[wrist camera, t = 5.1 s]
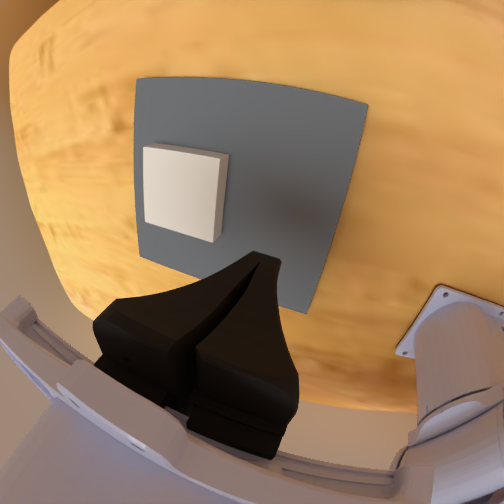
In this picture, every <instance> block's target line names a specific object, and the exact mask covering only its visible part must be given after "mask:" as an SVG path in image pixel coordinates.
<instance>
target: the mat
mask: <svg viewBox="0 0 504 504" xmlns="http://www.w3.org/2000/svg"><path fill="white" fill-rule="evenodd" d="M367 109H368V105H367V104H364V103H360V102H357V101H353V100H350V99H346V98H342V97H338V96H334V95H330V94H326V93H321V92H317V91H312V90H307V89H302V88H296V87H291V86H285V85H278V84H272V83H264V82H256V81H247V80H236V79H223V78H204V77H160V78H140V79H137V81H136V94H135V112H134V189H135V208H136V222H137V234H138V244H139V253H140V257H143V258H146V259H148V260H151V261H153V262H156V263H159V264H161V265H164V266H166V267H169V268H172V269H174V270H177V271H180V272H183V273H185V274H188V275H191V276H194V277H196V278H199V279H204V278H206V277H208V276H210V275H212V274H214V273H216V272H218V271H220V270H222V269H224V268H225V267H227V266H229V265H230V264H232V263H234V262H235V261H237V260H239V259H240V258H242V257H243V256H245V255H247V254H248V253H250V252H251V251H257V252H260V253H263V254H266V255H269V256H273V257H276V258H279V259H280V260H281V261H282V263H281V267H280V271H279V275H278V279H277V298H278V306H282V307H285V308H288V309H291V310H294V311H297V312H301V313H304V314H307V311H308V309H309V306H310V303H311V301H312V298H313V295H314V293H315V290H316V287H317V284H318V281H319V279H320V276H321V273H322V270H323V267H324V264H325V261H326V258H327V255H328V252H329V249H330V246H331V243H332V240H333V237H334V234H335V230H336V227H337V224H338V221H339V217H340V214H341V211H342V207H343V204H344V201H345V197H346V194H347V190H348V186H349V183H350V179H351V175H352V172H353V168H354V164H355V160H356V156H357V152H358V148H359V144H360V140H361V136H362V131H363V127H364V123H365V118H366V113H367ZM153 143H160V144H168V145H175V146H182V147H189V148H195V149H201V150H207V151H213V152H219V153H224V154H229V161H228V170H227V180H226V189H225V199H224V209H223V220H222V231H221V235H220V236H219V237H218V238H217V239H216V240H215V241H214V242H213V243H212V242H208V241H205V240H202V239H199V238H196V237H192V236H189V235H186V234H183V233H179V232H176V231H173V230H170V229H166V228H163V227H160V226H157V225H154V224H150V223H147V222H145V212H144V188H143V147H144V146H147V145H150V144H153Z"/></svg>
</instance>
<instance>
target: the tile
mask: <svg viewBox="0 0 504 504" xmlns="http://www.w3.org/2000/svg"><path fill="white" fill-rule="evenodd" d="M228 161H229V154H224V153H219V152H213V151H207V150H201V149H195V148H189V147H182V146H175V145H168V144H160V143H153V144H150V145H147V146H144V147H143V188H144V212H145V222H147V223H150V224H154V225H157V226H160V227H163V228H166V229H170V230H173V231H176V232H179V233H183V234H186V235H189V236H192V237H196V238H199V239H202V240H205V241H208V242H212V243H213V242H214V241H215V240H216V239H217V238H218V237H219V236H220V235H221V231H222V220H223V209H224V199H225V189H226V180H227V170H228Z"/></svg>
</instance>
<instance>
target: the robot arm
mask: <svg viewBox="0 0 504 504" xmlns="http://www.w3.org/2000/svg"><path fill="white" fill-rule="evenodd" d="M281 263H282V261H281V260H280V259H279V258H276V257H273V256H269V255H266V254H263V253H260V252H257V251H251V252H250V253H248V254H247V255H245V256H243V257H242V258H240V259H239V260H237V261H235V262H234V263H232V264H230V265H229V266H227V267H225V268H224V269H222V270H220V271H218V272H216V273H214V274H212V275H210V276H208V277H206V278H204V279H202V280H200V281H197V282H195V283H192V284H189V285H186V286H183V287H180V288H177V289H173V290H170V291H166V292H162V293H157V294H152V295H147V296H140V297H132V298H121V299H116V300H115V301H113V302H112V303H111V304H110V305H109V306H108V307H107V308H106V309H105V310H104V311H103V312H102V313H101V314H100V315H99V316H98V317H97V318H96V319H95V320H94V321H93V331H94V335H95V337H96V339H97V342H98V344H99V346H100V349H101V351H102V353H103V354H102V356H101V357H100V358H99V359H98V360H97V361H96V363H94V362H92V361H91V360H89V359H88V358H87V357H85V356H84V355H83V354H81V353H80V352H79V351H77V350H76V349H75V348H73V347H72V346H71V345H69V344H68V343H67V342H66V341H64V340H63V339H61V338H60V337H59V336H58V335H57V334H56V333H54V332H53V331H52V330H51V329H50V328H49V327H47V326H46V325H45V324H44V323H43V322H42V321H40V320H39V319H38V316H37V314H36V312H35V310H34V308H33V307H32V305H31V304H30V303H29V302H27V301H26V300H25V299H24V298H23V297H22V296H21V295H19V296H18V297H17V298H16V299H15V300H13V301H12V302H11V303H10V304H9V305H8V306H7V307H5V308H4V309H3V310H2V311H1V312H0V343H1V344H2V346H3V347H4V349H5V350H6V352H7V353H8V354H9V356H10V357H11V358H12V359H13V361H14V362H15V363H16V364H17V365H18V367H19V368H20V369H21V370H22V371H23V372H24V373H25V375H26V376H27V377H28V378H29V379H30V380H31V381H32V382H33V383H34V384H35V385H36V386H37V387H38V389H40V390H41V392H43V394H44V395H45V396H47V398H49V400H50V401H52V403H51V404H50V405H49V406H48V408H47V409H46V410H45V411H44V413H43V414H42V415H41V416H40V418H39V419H38V420H37V422H36V423H35V424H34V425H33V426H32V428H31V429H30V430H29V431H28V433H27V434H26V435H25V437H24V438H23V439H22V441H21V442H20V443H19V445H18V446H17V447H16V449H15V450H14V451H13V453H12V454H11V455H10V457H9V458H8V459H7V461H6V462H5V464H4V465H3V466H2V468H1V469H0V504H504V307H502V306H500V305H497V304H494V303H491V302H489V301H486V300H483V299H480V298H477V297H475V296H472V295H469V294H466V293H463V292H460V291H458V290H455V289H452V288H449V287H446V286H443V285H440V286H437V287H436V288H435V290H434V292H433V293H432V295H431V297H430V298H429V300H428V301H427V303H426V305H425V306H424V308H423V309H422V311H421V313H420V314H419V316H418V317H417V319H416V320H415V322H414V323H413V325H412V326H411V328H410V329H409V330H408V332H407V333H406V335H405V336H404V338H403V339H402V340H401V342H400V343H399V344H398V346H397V347H396V349H395V353H396V354H397V355H400V356H404V357H408V358H412V359H415V366H416V381H417V416H418V417H417V428H416V429H414V430H413V431H410V432H409V434H408V445H407V446H405V447H403V448H402V449H401V450H400V451H399V452H398V453H397V454H396V456H395V457H394V459H393V461H392V463H391V466H390V469H389V470H378V469H368V468H360V467H353V466H346V465H340V464H334V463H329V462H324V461H319V460H314V459H310V458H306V457H301V456H297V455H293V454H289V453H286V452H282V451H279V450H278V448H279V445H280V442H281V439H282V437H283V436H284V434H285V431H286V428H287V425H288V424H289V422H290V421H291V419H292V418H293V417H294V415H295V414H296V412H297V409H298V403H299V378H298V372H297V370H296V368H295V366H294V363H293V361H292V359H291V356H290V353H289V350H288V348H287V345H286V341H285V338H284V334H283V331H282V326H281V321H280V316H279V309H278V298H277V279H278V275H279V271H280V267H281ZM445 292H447V293H446V294H445V295H444V293H445ZM500 312H501V313H500ZM405 351H406V352H405Z"/></svg>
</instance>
